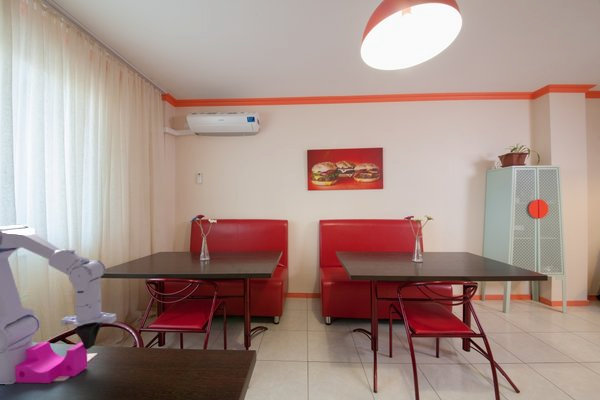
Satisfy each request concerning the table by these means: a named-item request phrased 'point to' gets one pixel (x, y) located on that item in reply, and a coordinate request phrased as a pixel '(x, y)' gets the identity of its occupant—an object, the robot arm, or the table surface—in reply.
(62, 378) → the pale mat
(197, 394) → the table surface
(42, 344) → the toy block
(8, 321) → the robot arm
